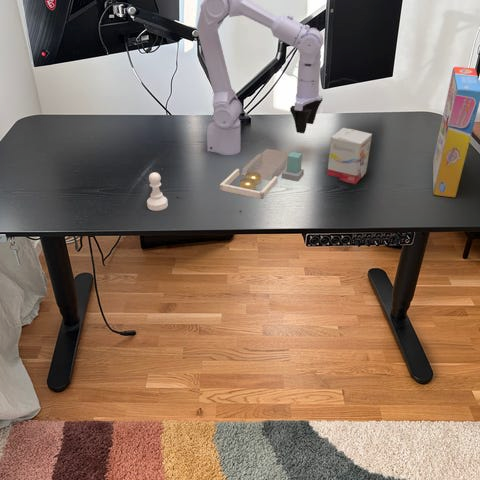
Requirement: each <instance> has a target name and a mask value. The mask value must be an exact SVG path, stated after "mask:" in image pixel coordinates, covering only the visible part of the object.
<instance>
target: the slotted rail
mask: <svg viewBox="0 0 480 480" xmlns="http://www.w3.org/2000/svg"><path fill="white" fill-rule="evenodd" d="M290 153H291V152H287V151H281V150H276V149H270V148H266V149H265V150H264V151H262V153H257V154H256V155H255V156H254V158H252V159H251V160H250V162H248V163H247V164H245V166H244V167H243V168H242V172H240V175H241V176H245V175H246V174H247V173H249V172H257V173H260V175H261V180H266V181H269V182H270V181H271V180H272V179H273V178H274V177H275V176H277V177H278V178H279V177H280V176H281V175H282V173H283V171H284V170H285V169H286V168H287V156H288V155H289V154H290ZM240 175H239V176H240Z"/></svg>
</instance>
